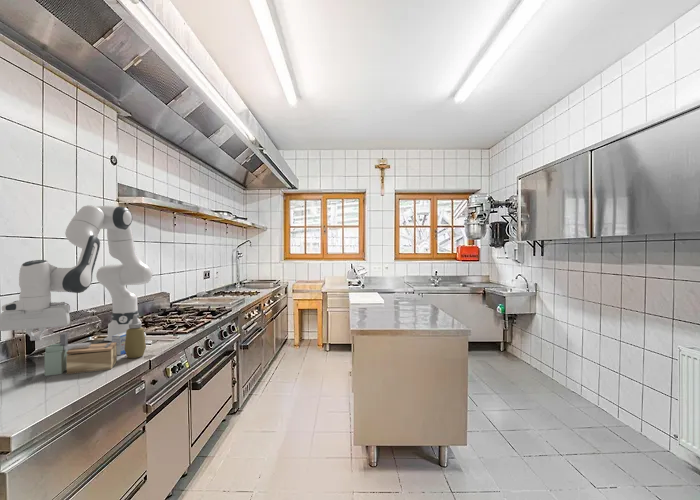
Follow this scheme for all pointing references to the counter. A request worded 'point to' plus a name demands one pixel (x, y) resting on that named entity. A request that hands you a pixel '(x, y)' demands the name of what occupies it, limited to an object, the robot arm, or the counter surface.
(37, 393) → the counter surface
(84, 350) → the lid
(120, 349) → the medicine box
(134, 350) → the squeeze bottle
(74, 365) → the crate
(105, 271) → the robot arm
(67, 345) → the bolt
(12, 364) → the counter surface
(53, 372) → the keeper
